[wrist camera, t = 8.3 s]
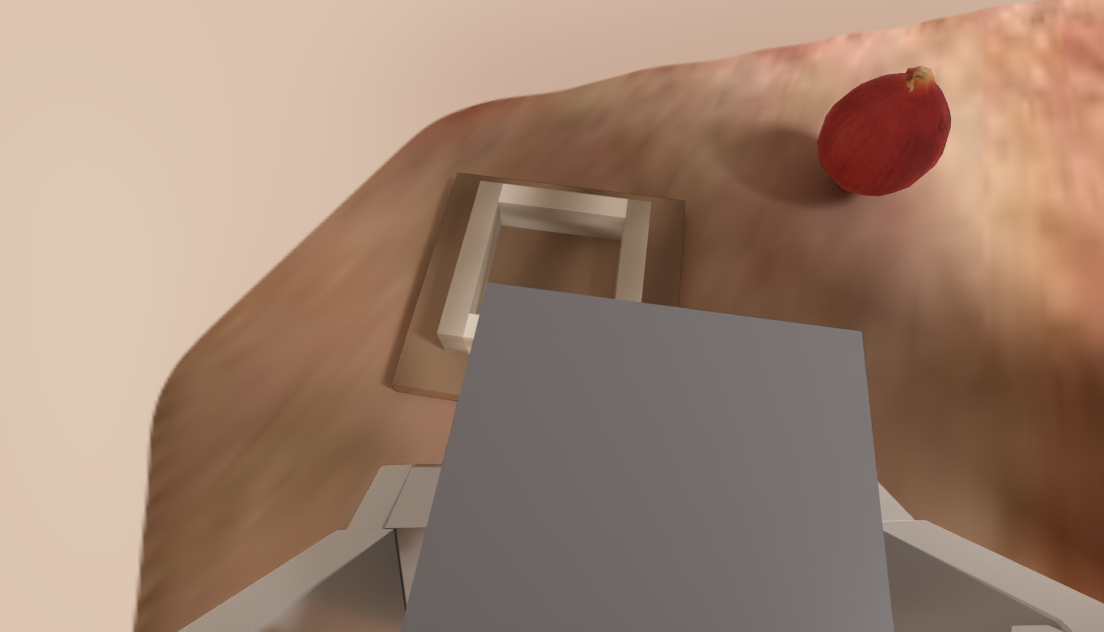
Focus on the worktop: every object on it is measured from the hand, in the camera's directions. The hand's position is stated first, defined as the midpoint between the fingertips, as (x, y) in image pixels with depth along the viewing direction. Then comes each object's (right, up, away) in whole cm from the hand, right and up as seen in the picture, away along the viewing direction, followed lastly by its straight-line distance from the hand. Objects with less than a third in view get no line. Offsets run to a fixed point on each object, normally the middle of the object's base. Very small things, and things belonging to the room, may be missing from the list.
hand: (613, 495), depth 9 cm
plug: (0, -3, +4) cm, 5 cm away
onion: (+16, +11, +23) cm, 30 cm away
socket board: (-1, +4, +20) cm, 20 cm away
